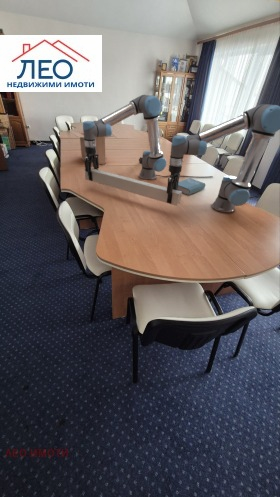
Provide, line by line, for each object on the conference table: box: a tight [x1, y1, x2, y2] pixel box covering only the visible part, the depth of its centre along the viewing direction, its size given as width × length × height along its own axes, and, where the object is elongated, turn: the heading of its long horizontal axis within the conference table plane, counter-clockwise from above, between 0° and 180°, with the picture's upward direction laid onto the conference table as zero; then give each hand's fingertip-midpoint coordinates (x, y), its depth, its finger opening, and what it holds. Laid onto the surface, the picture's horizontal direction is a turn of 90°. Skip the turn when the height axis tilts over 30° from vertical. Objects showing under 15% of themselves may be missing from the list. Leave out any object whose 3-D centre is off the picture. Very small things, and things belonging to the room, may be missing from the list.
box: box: [70, 130, 114, 166], centre depth 229 cm, size 44×36×27 cm
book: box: [177, 177, 206, 196], centre depth 186 cm, size 23×16×5 cm
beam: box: [84, 167, 183, 207], centre depth 154 cm, size 76×5×8 cm, turn 60°
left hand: (93, 179), depth 168 cm, fingers closed on beam, 5 cm apart
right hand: (170, 201), depth 144 cm, fingers closed on beam, 5 cm apart
